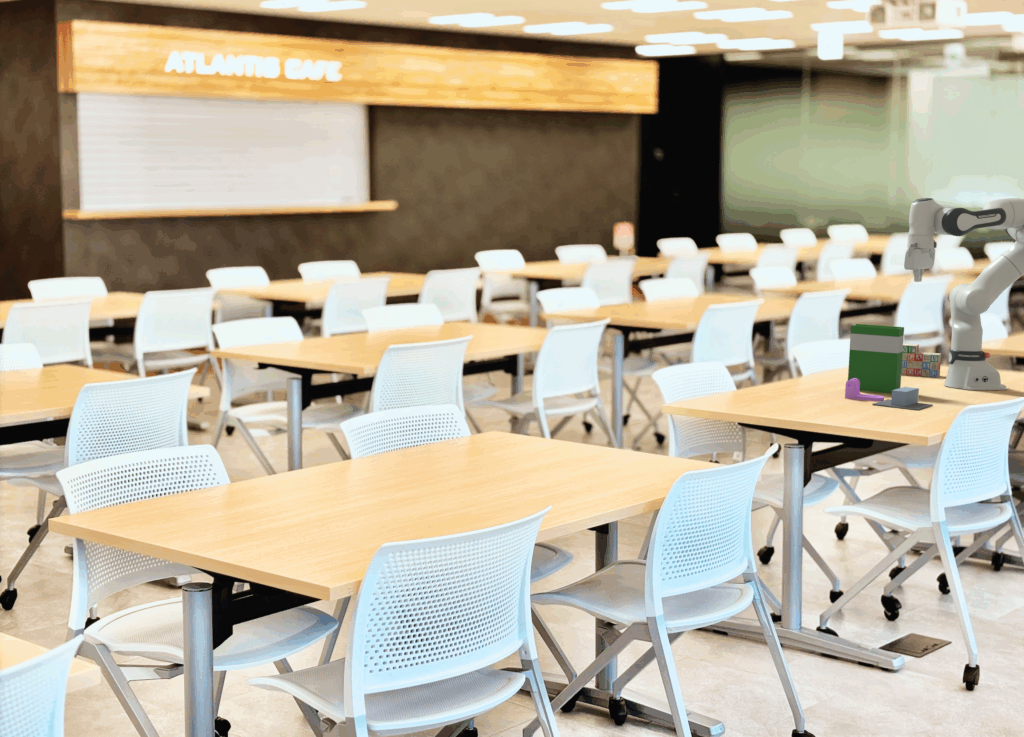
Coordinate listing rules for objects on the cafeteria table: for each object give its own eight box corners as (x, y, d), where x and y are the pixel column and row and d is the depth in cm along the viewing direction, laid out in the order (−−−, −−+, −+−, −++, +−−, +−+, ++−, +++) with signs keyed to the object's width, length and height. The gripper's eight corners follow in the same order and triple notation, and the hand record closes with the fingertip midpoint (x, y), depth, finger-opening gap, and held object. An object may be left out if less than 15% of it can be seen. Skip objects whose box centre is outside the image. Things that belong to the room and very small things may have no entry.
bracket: (844, 398, 471) (845, 379, 470) (848, 396, 476) (849, 377, 475) (881, 402, 465) (883, 382, 464) (885, 400, 470) (886, 380, 469)
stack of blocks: (940, 376, 535) (942, 345, 533) (937, 378, 530) (939, 347, 528) (886, 371, 545) (888, 342, 543) (883, 373, 540) (884, 343, 538)
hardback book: (847, 389, 492) (851, 325, 489) (852, 387, 498) (856, 323, 495) (895, 394, 483) (899, 328, 480) (900, 391, 490) (904, 327, 486)
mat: (888, 400, 468) (888, 399, 468) (932, 405, 458) (932, 404, 458) (872, 404, 457) (872, 403, 457) (917, 410, 447) (917, 409, 447)
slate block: (905, 386, 465) (892, 390, 455) (919, 388, 462) (906, 391, 452) (904, 400, 465) (891, 404, 456) (918, 402, 462) (905, 406, 453)
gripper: (918, 244, 467) (915, 283, 469) (938, 243, 483) (936, 281, 485) (900, 243, 471) (898, 282, 473) (921, 242, 487) (919, 280, 489)
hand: (917, 281), depth 479 cm, fingers closed
